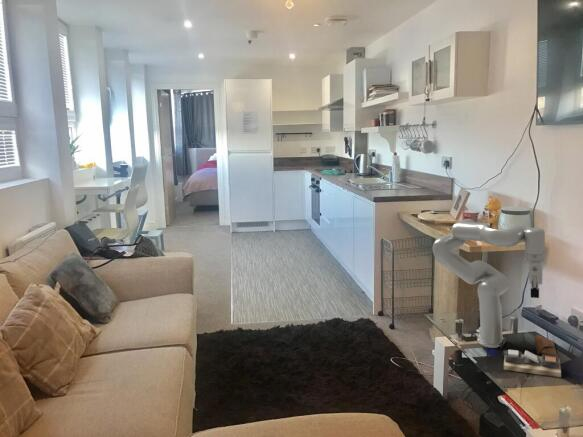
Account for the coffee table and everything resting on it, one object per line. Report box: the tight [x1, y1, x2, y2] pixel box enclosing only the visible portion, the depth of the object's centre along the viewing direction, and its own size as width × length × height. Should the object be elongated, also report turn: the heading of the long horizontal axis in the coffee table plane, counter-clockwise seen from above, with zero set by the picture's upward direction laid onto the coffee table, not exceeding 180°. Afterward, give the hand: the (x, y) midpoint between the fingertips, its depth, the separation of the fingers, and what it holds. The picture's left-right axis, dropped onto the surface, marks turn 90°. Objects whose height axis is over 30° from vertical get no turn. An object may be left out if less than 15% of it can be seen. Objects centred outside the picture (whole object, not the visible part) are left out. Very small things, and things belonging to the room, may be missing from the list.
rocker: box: [524, 350, 539, 363], centre depth 194 cm, size 6×4×1 cm
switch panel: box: [503, 349, 562, 378], centre depth 194 cm, size 21×12×4 cm, turn 63°
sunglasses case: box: [534, 334, 558, 356], centre depth 206 cm, size 18×7×7 cm
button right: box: [545, 356, 556, 362], centre depth 191 cm, size 4×4×2 cm
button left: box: [508, 349, 520, 358], centre depth 197 cm, size 4×4×2 cm
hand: (534, 297), depth 199 cm, fingers closed
